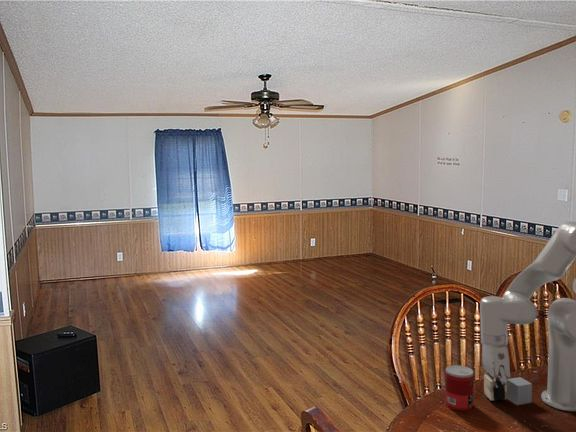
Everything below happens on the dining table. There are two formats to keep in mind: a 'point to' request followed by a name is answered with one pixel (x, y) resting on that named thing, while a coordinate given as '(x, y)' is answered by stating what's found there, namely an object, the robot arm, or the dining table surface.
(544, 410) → the dining table surface
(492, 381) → the birch block
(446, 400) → the canned food
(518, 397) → the slate block
